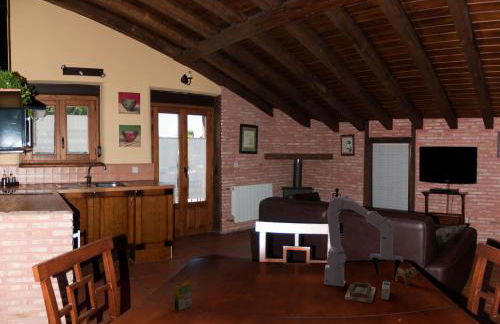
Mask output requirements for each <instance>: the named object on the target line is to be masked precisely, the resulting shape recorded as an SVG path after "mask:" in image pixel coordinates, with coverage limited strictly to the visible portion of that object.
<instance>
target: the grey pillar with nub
mask: <svg viewBox="0 0 500 324" xmlns="http://www.w3.org/2000/svg"><path fill="white" fill-rule="evenodd" d="M390 293H391V282H390V281H388V280H384V281H382V286H381V300H388V301H389V299H390Z"/></svg>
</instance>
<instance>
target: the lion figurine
mask: <svg viewBox="0 0 500 324" xmlns="http://www.w3.org/2000/svg"><path fill="white" fill-rule="evenodd" d="M417 274H418V271H417V270H416V267H413V266H411V267H408V268H405V269H402V268H401V267H398V270H397V272H396V277H394V275H392V276H390V278H391V279H393V278H395V282H399V281H398V280H399V276H400V277H402V278H403V279H404V285H405V286H408V285H411V282H410V280H413V278H415V277H416V276H417Z"/></svg>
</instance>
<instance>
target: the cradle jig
mask: <svg viewBox="0 0 500 324" xmlns="http://www.w3.org/2000/svg"><path fill="white" fill-rule="evenodd" d="M376 290H377V289H376V286H372V284H371V283H366V282H365V283H363V282H357V281H353V284H351V283H350V284H349V286H348V288H347V290H346V293H345V295H344V300H345V301H346V300H348V301H354V302H361V303H362V302H363V303H367V304H368V303H370V304H373V301H374V298H375V294H376Z"/></svg>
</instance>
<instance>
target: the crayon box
mask: <svg viewBox="0 0 500 324" xmlns="http://www.w3.org/2000/svg"><path fill="white" fill-rule="evenodd" d="M173 288H174V290H173V291H174V293H173V295H174V310H175V311H179V312H180V311H182V310H184V309H186V308H189V307H192V279H189V280H186V281H183V282H180V283H178V285H176V286H173Z"/></svg>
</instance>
